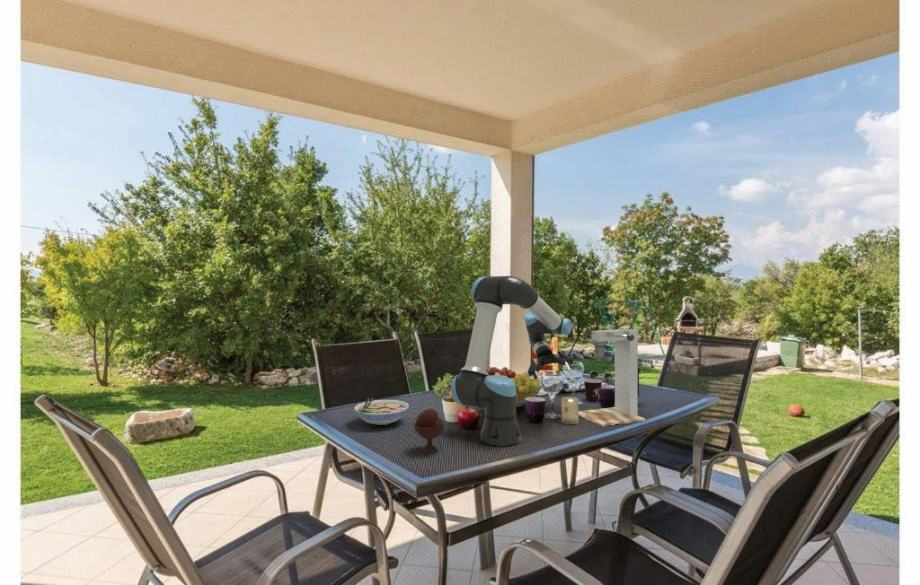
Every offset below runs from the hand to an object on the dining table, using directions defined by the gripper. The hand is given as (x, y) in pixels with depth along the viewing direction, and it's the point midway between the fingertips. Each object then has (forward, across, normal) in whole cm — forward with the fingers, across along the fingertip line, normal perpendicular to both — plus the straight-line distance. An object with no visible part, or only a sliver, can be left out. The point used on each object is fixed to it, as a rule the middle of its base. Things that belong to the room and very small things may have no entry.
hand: (555, 376), depth 197 cm
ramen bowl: (+2, +76, +4) cm, 76 cm away
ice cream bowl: (+34, +53, +9) cm, 64 cm away
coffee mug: (-25, -17, -37) cm, 48 cm away
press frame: (+5, -21, -25) cm, 33 cm away
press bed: (+3, -18, -26) cm, 32 cm away
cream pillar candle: (+8, 0, -19) cm, 20 cm away
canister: (-16, -33, -39) cm, 54 cm away
